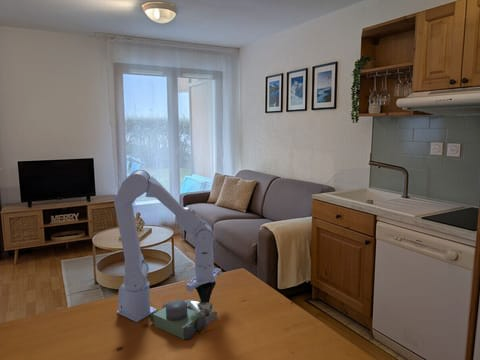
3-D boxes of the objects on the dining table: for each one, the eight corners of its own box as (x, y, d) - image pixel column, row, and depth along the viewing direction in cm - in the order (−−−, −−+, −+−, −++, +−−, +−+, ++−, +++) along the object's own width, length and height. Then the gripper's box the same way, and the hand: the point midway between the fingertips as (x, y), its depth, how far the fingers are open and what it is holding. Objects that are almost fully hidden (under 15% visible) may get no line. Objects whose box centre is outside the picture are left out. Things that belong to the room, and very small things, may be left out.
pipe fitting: (205, 324, 105) (212, 311, 111) (205, 313, 104) (212, 300, 110) (180, 321, 106) (188, 307, 113) (179, 309, 105) (188, 297, 112)
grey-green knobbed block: (150, 324, 103) (149, 303, 102) (184, 303, 115) (183, 285, 114) (186, 341, 95) (186, 319, 94) (219, 317, 107) (218, 297, 106)
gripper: (198, 274, 102) (199, 317, 104) (228, 258, 114) (228, 297, 116) (180, 268, 106) (181, 310, 108) (211, 253, 118) (211, 291, 120)
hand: (205, 303), depth 112 cm, fingers closed
